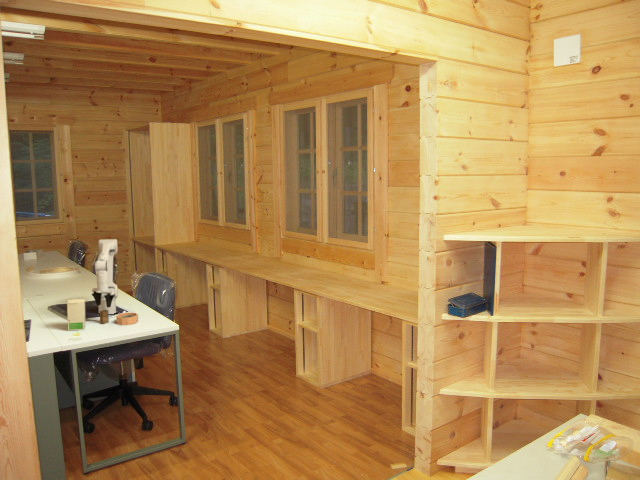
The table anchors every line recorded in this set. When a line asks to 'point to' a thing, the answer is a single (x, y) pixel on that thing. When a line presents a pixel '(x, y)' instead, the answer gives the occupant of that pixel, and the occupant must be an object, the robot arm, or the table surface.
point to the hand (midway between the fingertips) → (103, 306)
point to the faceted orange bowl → (127, 318)
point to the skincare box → (76, 314)
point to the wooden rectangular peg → (104, 317)
